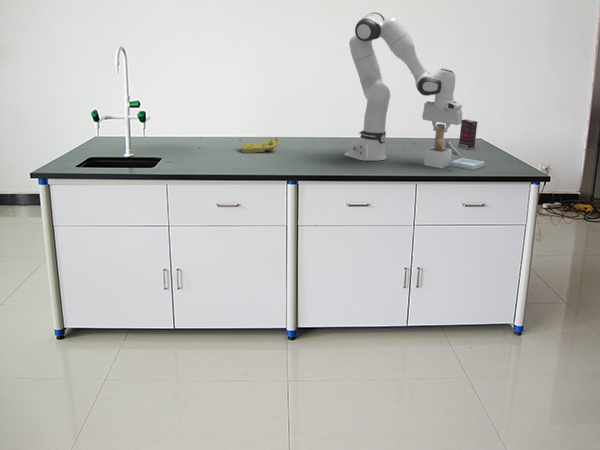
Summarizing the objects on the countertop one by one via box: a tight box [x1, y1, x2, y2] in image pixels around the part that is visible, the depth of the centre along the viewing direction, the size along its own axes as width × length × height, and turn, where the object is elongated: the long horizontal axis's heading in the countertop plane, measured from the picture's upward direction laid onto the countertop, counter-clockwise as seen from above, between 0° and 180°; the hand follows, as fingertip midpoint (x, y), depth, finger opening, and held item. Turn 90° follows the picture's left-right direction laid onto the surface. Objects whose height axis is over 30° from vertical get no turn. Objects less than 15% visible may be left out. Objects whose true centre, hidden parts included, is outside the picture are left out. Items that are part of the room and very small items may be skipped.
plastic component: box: [241, 136, 280, 154], centre depth 326 cm, size 20×7×10 cm
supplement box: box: [458, 119, 478, 150], centre depth 346 cm, size 9×5×16 cm, turn 25°
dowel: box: [433, 123, 446, 152], centre depth 301 cm, size 4×4×14 cm
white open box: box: [423, 146, 453, 169], centre depth 304 cm, size 10×10×8 cm
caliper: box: [444, 138, 462, 157], centre depth 336 cm, size 20×1×6 cm, turn 10°
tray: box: [450, 157, 485, 171], centre depth 304 cm, size 12×12×2 cm
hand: (440, 131), depth 300 cm, fingers closed on dowel, 4 cm apart
